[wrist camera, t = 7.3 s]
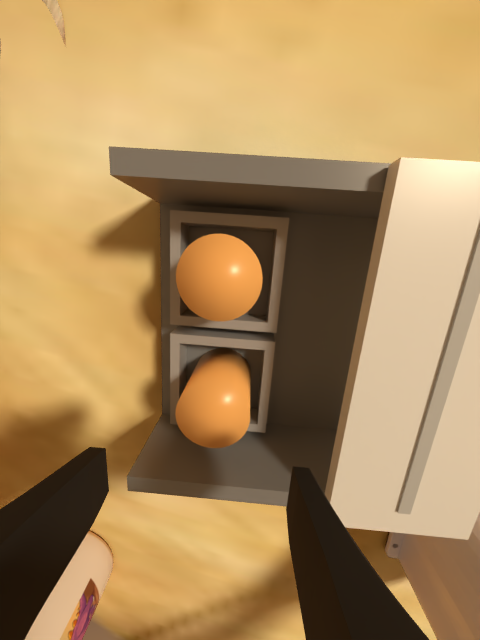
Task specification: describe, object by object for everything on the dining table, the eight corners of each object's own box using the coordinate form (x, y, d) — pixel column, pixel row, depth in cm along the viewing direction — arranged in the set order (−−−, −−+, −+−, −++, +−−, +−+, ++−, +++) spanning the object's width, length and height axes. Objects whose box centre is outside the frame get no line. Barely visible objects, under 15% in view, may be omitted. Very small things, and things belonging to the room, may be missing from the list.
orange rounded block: (248, 400, 19) (247, 451, 14) (195, 395, 19) (175, 444, 14) (252, 350, 18) (252, 386, 13) (196, 345, 18) (175, 379, 13)
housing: (389, 437, 20) (453, 523, 14) (166, 417, 20) (127, 490, 14) (448, 208, 16) (584, 175, 9) (165, 189, 16) (108, 146, 10)
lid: (456, 523, 13) (470, 542, 13) (321, 510, 14) (326, 527, 13) (586, 177, 9) (622, 169, 8) (388, 165, 9) (403, 156, 8)
